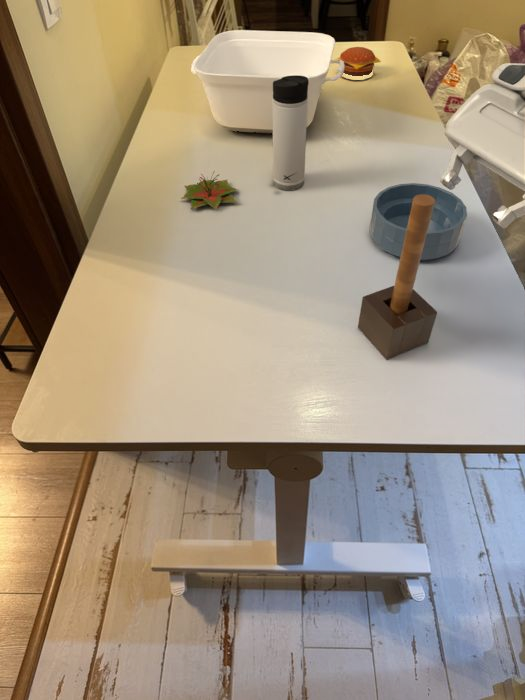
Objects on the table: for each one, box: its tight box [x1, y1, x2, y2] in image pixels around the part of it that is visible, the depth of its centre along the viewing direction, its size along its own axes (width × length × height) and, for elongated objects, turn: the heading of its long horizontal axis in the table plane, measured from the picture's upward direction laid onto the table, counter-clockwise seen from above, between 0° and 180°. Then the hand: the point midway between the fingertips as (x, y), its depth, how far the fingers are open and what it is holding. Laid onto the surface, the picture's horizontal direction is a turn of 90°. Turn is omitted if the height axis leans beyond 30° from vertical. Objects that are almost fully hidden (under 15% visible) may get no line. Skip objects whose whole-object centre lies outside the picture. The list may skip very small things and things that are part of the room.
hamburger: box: [334, 46, 382, 76], centre depth 139 cm, size 9×10×7 cm
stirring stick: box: [390, 194, 435, 315], centre depth 67 cm, size 2×2×22 cm
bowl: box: [368, 182, 468, 261], centre depth 89 cm, size 15×15×6 cm
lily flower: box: [180, 170, 239, 211], centre depth 99 cm, size 12×12×5 cm
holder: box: [357, 285, 438, 361], centre depth 73 cm, size 7×7×6 cm
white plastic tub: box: [190, 29, 344, 135], centre depth 119 cm, size 34×29×15 cm
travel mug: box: [272, 75, 309, 191], centre depth 97 cm, size 6×7×20 cm
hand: (469, 203), depth 63 cm, fingers open, 8 cm apart
